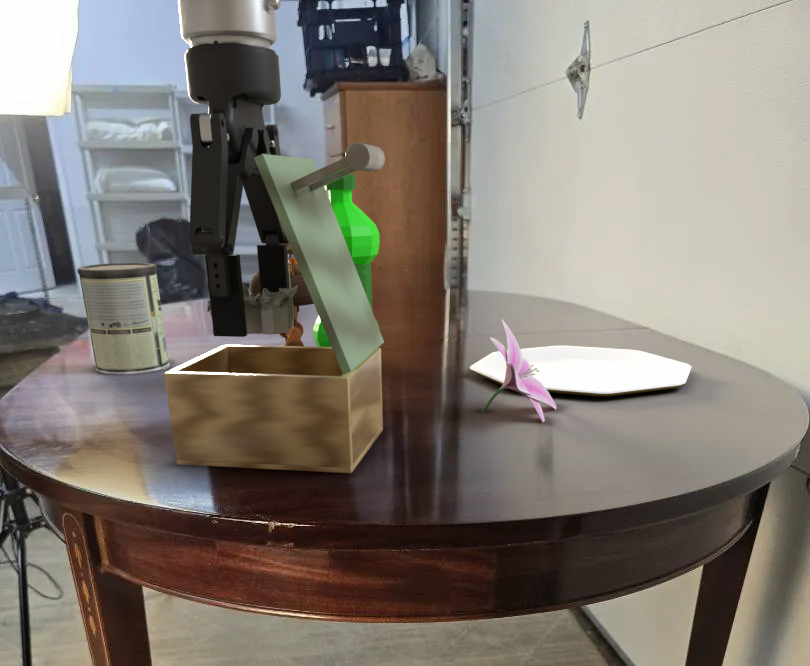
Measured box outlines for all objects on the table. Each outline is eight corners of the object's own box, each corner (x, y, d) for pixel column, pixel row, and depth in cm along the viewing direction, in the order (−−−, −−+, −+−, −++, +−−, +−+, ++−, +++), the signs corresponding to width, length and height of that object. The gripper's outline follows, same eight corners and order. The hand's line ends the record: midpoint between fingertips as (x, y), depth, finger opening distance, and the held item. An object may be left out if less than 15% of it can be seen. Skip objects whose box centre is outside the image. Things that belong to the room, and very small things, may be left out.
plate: (544, 413, 87) (544, 400, 86) (442, 366, 110) (442, 356, 110) (735, 389, 96) (737, 377, 96) (604, 350, 120) (605, 340, 119)
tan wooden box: (177, 468, 71) (163, 372, 68) (232, 426, 83) (224, 344, 80) (351, 477, 69) (347, 378, 65) (383, 433, 81) (380, 348, 77)
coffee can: (87, 367, 112) (68, 265, 107) (156, 359, 118) (142, 261, 112) (107, 380, 105) (88, 271, 99) (180, 370, 110) (167, 266, 104)
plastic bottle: (300, 358, 117) (287, 176, 107) (358, 349, 123) (351, 176, 112) (335, 369, 110) (325, 174, 99) (395, 359, 115) (391, 174, 105)
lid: (253, 157, 59) (344, 113, 57) (306, 162, 71) (382, 126, 69) (342, 374, 65) (428, 342, 62) (377, 344, 77) (450, 317, 75)
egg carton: (226, 319, 76) (222, 276, 75) (302, 318, 76) (299, 274, 75) (202, 337, 67) (196, 288, 65) (289, 336, 67) (285, 286, 65)
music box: (354, 391, 97) (334, 220, 88) (270, 408, 94) (240, 232, 85) (317, 368, 110) (296, 217, 101) (242, 382, 106) (213, 227, 97)
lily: (500, 447, 79) (553, 366, 75) (426, 386, 84) (472, 307, 80) (553, 454, 88) (602, 382, 85) (484, 398, 94) (527, 328, 90)
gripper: (216, 16, 51) (247, 349, 60) (317, 66, 72) (329, 307, 81) (112, 21, 52) (158, 347, 61) (241, 69, 74) (261, 306, 83)
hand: (255, 324), depth 71 cm, fingers closed on egg carton, 11 cm apart
